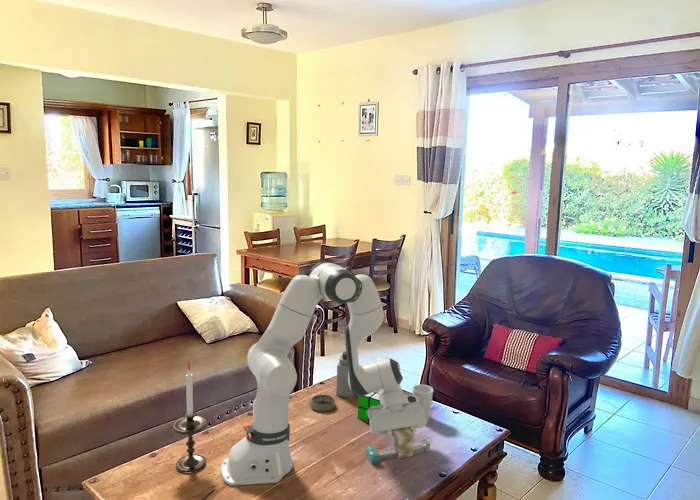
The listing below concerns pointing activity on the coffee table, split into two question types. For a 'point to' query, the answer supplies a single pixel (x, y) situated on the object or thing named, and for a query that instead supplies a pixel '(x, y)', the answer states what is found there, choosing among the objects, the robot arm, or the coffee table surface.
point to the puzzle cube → (367, 404)
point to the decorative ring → (322, 407)
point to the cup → (424, 397)
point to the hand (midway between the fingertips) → (403, 443)
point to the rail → (392, 452)
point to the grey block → (343, 377)
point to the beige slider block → (403, 442)
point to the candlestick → (190, 431)
